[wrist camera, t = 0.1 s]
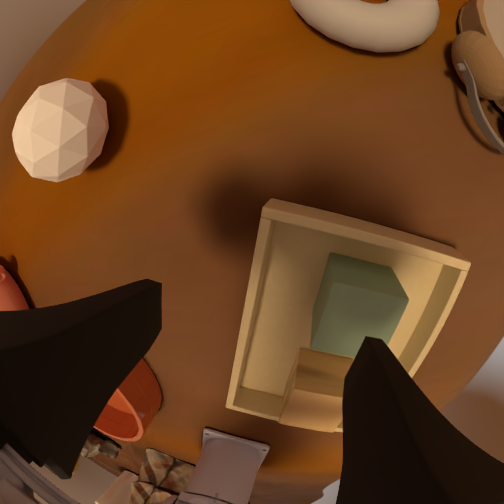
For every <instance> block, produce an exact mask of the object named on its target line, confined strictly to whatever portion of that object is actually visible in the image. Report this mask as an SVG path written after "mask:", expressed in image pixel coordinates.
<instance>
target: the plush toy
mask: <svg viewBox="0 0 504 504" xmlns="http://www.w3.org/2000/svg"><path fill="white" fill-rule="evenodd" d="M194 469H195V467H194V466H192V465H190V464H187V463H185V462H183V461H180V460H178V459H176V458H174V457H171V456H169V455H166V454H164V453H162V452H159V451H157V450H153V449H146V454H145V457H144V460H143V463H142V467H141V470H140V473H139V476H138V480H137V481H133V482H131V485H130V493H129V495H130V496H129V504H162V503H163V502H164V500H165V499H166V498H167V497H170V496H172V495H177V496H179V495H180V493H181V491H183V492H184V491H185V489H186V487H187V484H188V482H189V480H190V478H191V476H192V473H193V471H194Z"/></svg>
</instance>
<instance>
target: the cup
mask: <svg viewBox="0 0 504 504" xmlns="http://www.w3.org/2000/svg"><path fill="white" fill-rule="evenodd" d="M137 480H138V476H137V475H135V474H133V473H131V472H129V471H125V470H124V471H123V473H122V474H121V475H120V476H119V477H118V478H117V479H116V481H115V482H114V483H113V484H112V485H111V486H110V487H109V488H108V489H107V490H106V492H105V493H104V494H103V495H102V496H101V497H99V498H98V499H97V500H96V501H95V503H96V504H129V496H130V495H129V493H130V485H131V482H133V481H137Z"/></svg>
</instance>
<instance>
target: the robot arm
mask: <svg viewBox="0 0 504 504" xmlns="http://www.w3.org/2000/svg"><path fill="white" fill-rule="evenodd" d="M161 297H162V283H159V282H156V281H153V280H150V279H144V280H140V281H136V282H133V283H130V284H127V285H124V286H121V287H118V288H115V289H112V290H109V291H106V292H102V293H99V294H96V295H93V296H89V297H86V298H82V299H79V300H76V301H72V302H68V303H64V304H59V305H54V306H49V307H43V308H36V309H26V310H16V311H0V504H42V503H41V502H39V501H38V500H36V499H35V498H34V495H33V491H34V492H35V493H37V494H38V495H39V496H40V497H41V498H43V499H44V500H45V501H46V502H48V503H49V504H80V503H78V502H77V501H75V500H74V499H73V498H71V497H70V496H68V495H67V494H65V493H64V492H63V491H61V490H60V489H59V488H57V487H56V486H55V485H53V484H52V483H51V482H50V481H48V480H47V479H46V478H45V477H44V476H42V475H41V474H40V473H39V472H38V471H36V470H35V469H34V468H33V467H32V466H31V465H30V463H31V462H32V461H33V462H35V463H36V464H37V465H38V466H39V467H42V466H43V465H44V466H45V467H47V468H48V469H49V470H50V471H52V472H53V473H54V474H55V475H57V476H58V477H59V478H61V479H70V478H71V476H72V473H73V471H74V468H75V466H76V463H77V461H78V458H79V456H80V453H81V451H82V449H83V447H84V445H85V443H86V440H87V438H88V436H89V434H90V432H91V430H92V429H93V427H94V425H95V423H96V421H97V420H98V418H99V416H100V414H101V413H102V411H103V409H104V408H105V406H106V404H107V403H108V401H109V400H110V398H111V396H112V395H113V394H114V392H115V391H116V390H117V388H118V387H119V386H120V385H121V383H122V382H123V381H124V380H125V379H126V377H127V376H128V375H129V374H130V372H131V371H132V370H133V369H134V368H135V366H136V365H137V364H138V363H139V362H140V360H141V359H142V358H143V357H144V355H145V354H146V353H147V352H148V350H149V349H150V347H151V346H152V344H153V343H154V341H155V339H156V338H157V336H158V334H159V332H160V331H161V329H162V309H161ZM342 416H343V464H342V472H341V479H340V485H339V491H338V496H337V500H336V504H504V463H502V462H500V461H499V460H497V459H495V458H494V457H492V456H490V455H489V454H487V453H486V452H485V451H483V450H482V449H480V448H479V447H478V446H476V445H475V444H474V443H472V442H471V441H470V440H469V439H468V438H466V437H465V436H464V435H463V434H462V433H461V432H460V431H458V430H457V429H456V428H455V427H454V426H453V425H452V424H451V423H450V422H449V421H448V420H447V419H446V418H445V417H444V416H443V415H442V414H441V413H440V412H439V411H438V410H437V409H436V407H435V406H434V405H433V404H432V403H431V402H430V401H429V399H428V398H427V397H426V396H425V394H424V393H423V392H422V391H421V390H420V388H419V387H418V386H417V385H416V383H415V382H414V381H413V379H412V378H411V377H410V375H409V374H408V373H407V371H406V370H405V369H404V367H403V366H402V365H401V363H400V362H399V361H398V359H397V358H396V356H395V355H394V354H393V352H392V351H391V350H390V348H389V347H388V346H387V345H386V343H385V342H384V341H383V340H382V339H379V338H374V337H369V336H365V338H364V340H363V342H362V345H361V347H360V349H359V351H358V353H357V355H356V357H355V359H354V361H353V363H352V365H351V366H350V368H349V370H348V372H347V374H346V376H345V378H344V388H343V399H342ZM269 449H270V446H269V445H267V444H263V443H259V442H254V441H250V440H247V439H243V438H239V437H235V436H232V435H228V434H225V433H222V432H219V431H215V430H212V429H209V428H205V429H204V431H203V442H202V453H201V455H200V457H199V460H198V462H197V464H196V467H195V469H194V471H193V473H192V476H191V478H190V480H189V482H188V484H187V487H186V489H185V491H184V492H183V491H181V493H180V495H179V496H177V495H172V496H170V497H167V498H166V499H165V500H164V502H163V503H162V504H248V502H249V499H250V495H251V492H252V488H253V485H254V481H255V478H256V474H257V471H258V469H259V467H260V466H261V464H262V462H263V460H264V458H265V456H266V455H267V453H268V451H269Z"/></svg>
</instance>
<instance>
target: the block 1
mask: <svg viewBox="0 0 504 504" xmlns="http://www.w3.org/2000/svg"><path fill="white" fill-rule="evenodd" d="M352 363H353V359H351V358H346V357H341V356H336V355H331V354H326V353H321V352H316V351H312V350H307V349H303V348H299V351H298V353H297V356H296V359H295V362H294V364H293V367H292V370H291V372H290V375H289V377H288V380H287V383H286V386H285V392H284V397H283V402H282V407H281V411H280V416H279V421H278V423H280V424H285V425H289V426H295V427H300V428H305V429H311V430H317V431H324V432H331V433H333V432H334V431H335V429H336V428H337V426H338V425H339V424H340V422H341V421H342V419H343V416H342V399H343V388H344V378H345V376H346V374H347V372H348V370H349V368H350V366H351V365H352Z"/></svg>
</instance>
